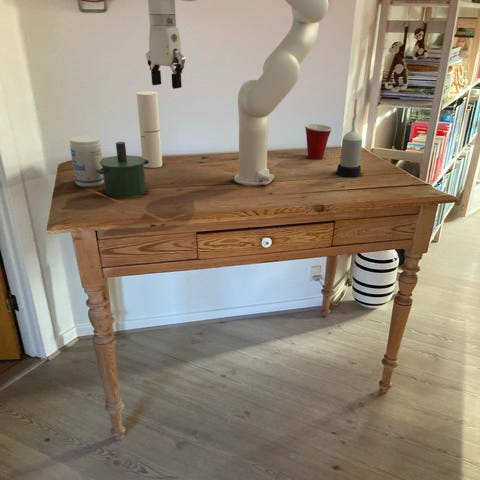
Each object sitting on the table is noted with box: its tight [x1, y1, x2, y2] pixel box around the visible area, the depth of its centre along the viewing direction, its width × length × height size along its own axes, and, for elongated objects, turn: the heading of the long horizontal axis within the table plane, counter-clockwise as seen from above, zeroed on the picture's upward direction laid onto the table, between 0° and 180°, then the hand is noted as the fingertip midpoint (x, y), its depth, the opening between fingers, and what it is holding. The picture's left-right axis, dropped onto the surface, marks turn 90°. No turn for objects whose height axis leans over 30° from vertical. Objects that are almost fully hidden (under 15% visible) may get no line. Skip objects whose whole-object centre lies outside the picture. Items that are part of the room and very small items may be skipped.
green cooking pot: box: [96, 159, 149, 199], centre depth 165 cm, size 13×18×10 cm
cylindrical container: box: [136, 91, 163, 169], centre depth 189 cm, size 7×7×25 cm
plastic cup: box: [304, 123, 334, 160], centre depth 203 cm, size 11×11×12 cm
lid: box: [100, 141, 145, 169], centre depth 161 cm, size 14×14×7 cm
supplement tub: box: [69, 135, 104, 188], centre depth 171 cm, size 10×10×15 cm
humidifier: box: [336, 98, 363, 178], centre depth 181 cm, size 8×8×25 cm
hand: (166, 86), depth 159 cm, fingers open, 9 cm apart
